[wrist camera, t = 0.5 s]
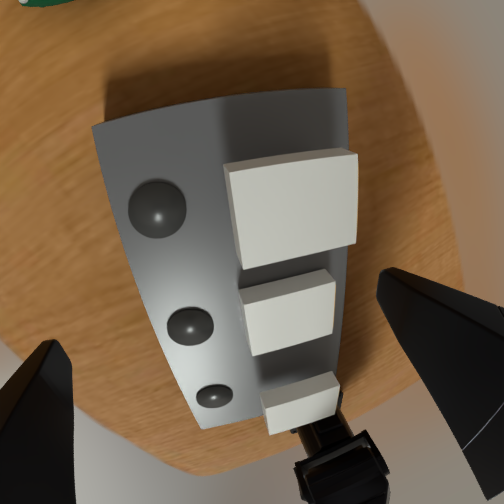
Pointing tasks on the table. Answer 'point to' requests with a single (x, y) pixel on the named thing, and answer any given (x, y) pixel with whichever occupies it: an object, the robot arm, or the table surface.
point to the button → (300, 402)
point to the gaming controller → (42, 2)
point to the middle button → (288, 311)
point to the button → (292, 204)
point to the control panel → (215, 236)
